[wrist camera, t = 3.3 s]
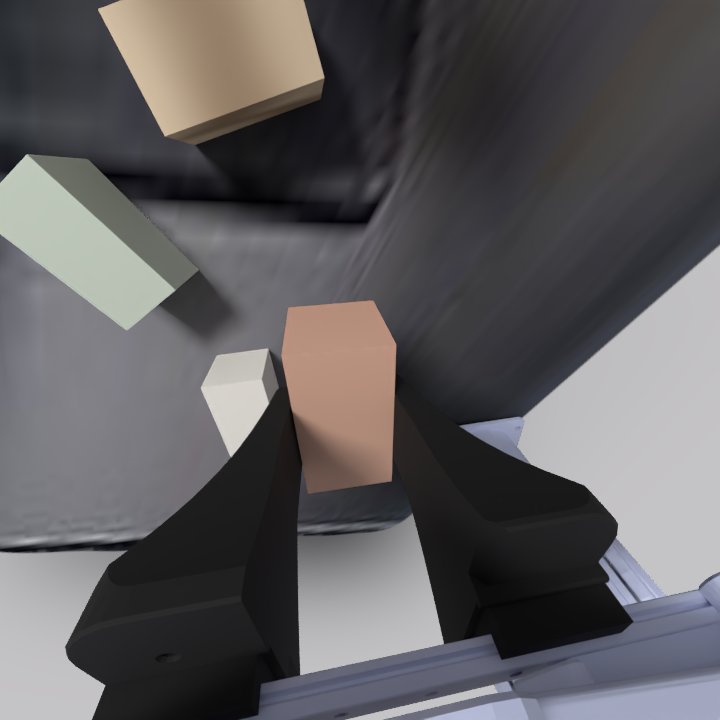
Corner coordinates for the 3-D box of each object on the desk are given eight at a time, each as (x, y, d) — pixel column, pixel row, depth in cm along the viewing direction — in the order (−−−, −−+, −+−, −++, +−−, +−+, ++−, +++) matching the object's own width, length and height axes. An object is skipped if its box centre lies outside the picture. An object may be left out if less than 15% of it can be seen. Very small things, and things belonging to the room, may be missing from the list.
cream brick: (287, 417, 23) (284, 454, 20) (243, 424, 22) (233, 463, 19) (268, 347, 20) (261, 379, 16) (217, 354, 19) (200, 387, 16)
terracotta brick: (374, 418, 15) (391, 480, 12) (308, 426, 14) (308, 493, 11) (373, 300, 12) (396, 344, 9) (288, 307, 11) (281, 355, 8)
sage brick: (199, 269, 17) (175, 290, 14) (158, 303, 17) (126, 330, 14) (89, 159, 14) (26, 154, 10) (44, 205, 14) (-28, 212, 11)
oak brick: (291, -2, 12) (286, -63, 9) (320, 99, 14) (324, 77, 11) (150, 51, 12) (97, 8, 9) (196, 145, 14) (164, 136, 11)
